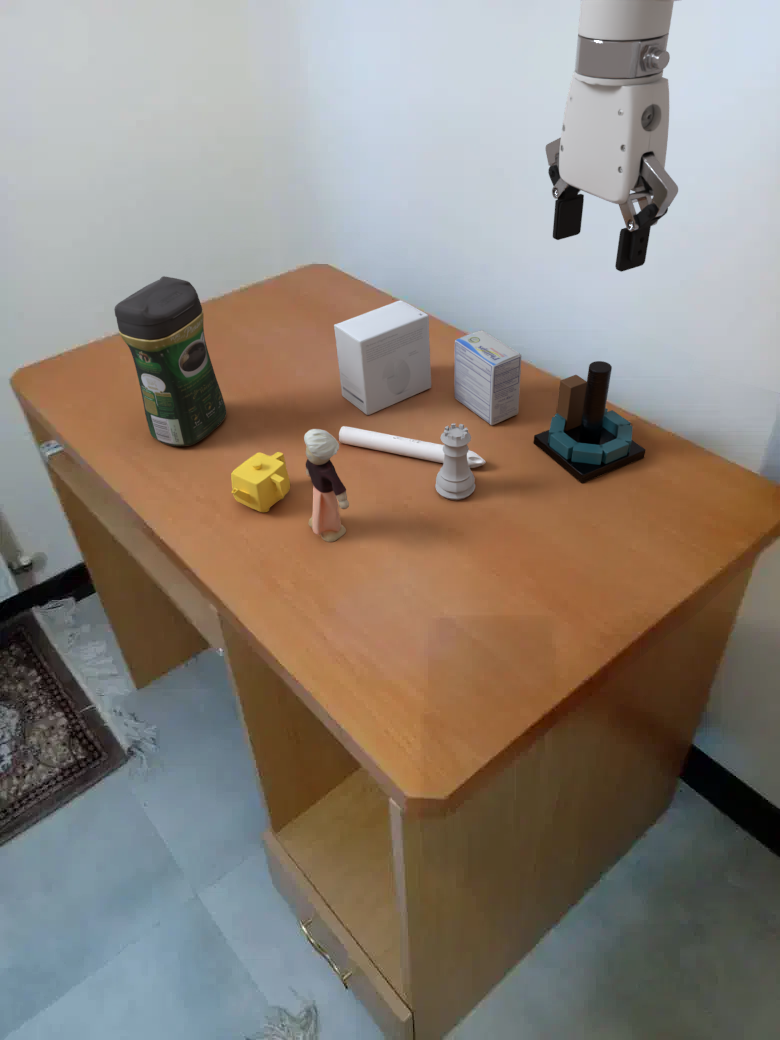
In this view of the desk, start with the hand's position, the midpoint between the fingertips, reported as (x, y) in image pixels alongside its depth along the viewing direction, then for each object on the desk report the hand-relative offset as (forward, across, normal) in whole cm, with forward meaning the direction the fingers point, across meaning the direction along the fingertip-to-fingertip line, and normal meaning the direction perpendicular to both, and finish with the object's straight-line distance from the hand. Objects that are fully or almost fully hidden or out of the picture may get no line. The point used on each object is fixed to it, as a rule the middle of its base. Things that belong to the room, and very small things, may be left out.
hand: (596, 251), depth 79 cm
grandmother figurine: (+23, 0, +32) cm, 39 cm away
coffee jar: (+23, +27, +39) cm, 53 cm away
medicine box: (+23, +11, +5) cm, 26 cm away
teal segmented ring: (+22, -2, 0) cm, 22 cm away
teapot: (+23, +8, +36) cm, 44 cm away
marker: (+23, +7, +18) cm, 30 cm away
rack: (+23, -3, 0) cm, 23 cm away
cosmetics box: (+23, +21, +14) cm, 34 cm away
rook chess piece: (+23, -1, +17) cm, 29 cm away
